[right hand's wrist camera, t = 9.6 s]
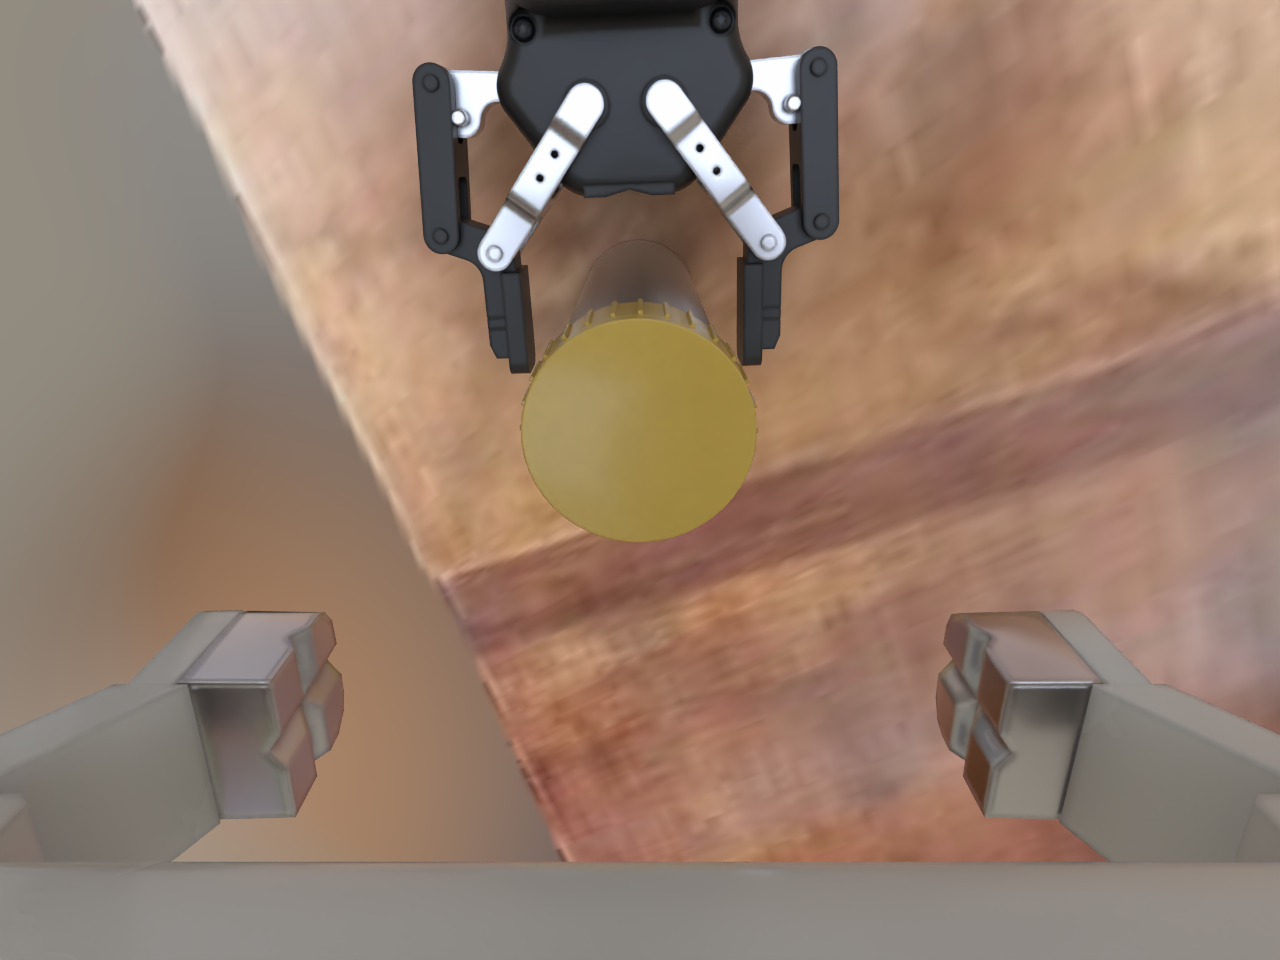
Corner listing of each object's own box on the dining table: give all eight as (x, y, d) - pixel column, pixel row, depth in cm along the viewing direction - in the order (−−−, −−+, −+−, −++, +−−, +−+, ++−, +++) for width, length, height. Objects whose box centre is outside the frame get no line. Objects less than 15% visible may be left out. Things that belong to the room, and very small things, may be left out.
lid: (574, 534, 22) (567, 572, 20) (496, 340, 20) (479, 361, 18) (773, 473, 21) (787, 506, 19) (712, 266, 19) (720, 280, 17)
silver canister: (606, 362, 38) (576, 549, 20) (570, 260, 36) (502, 365, 18) (706, 329, 37) (767, 491, 19) (674, 224, 36) (708, 296, 18)
